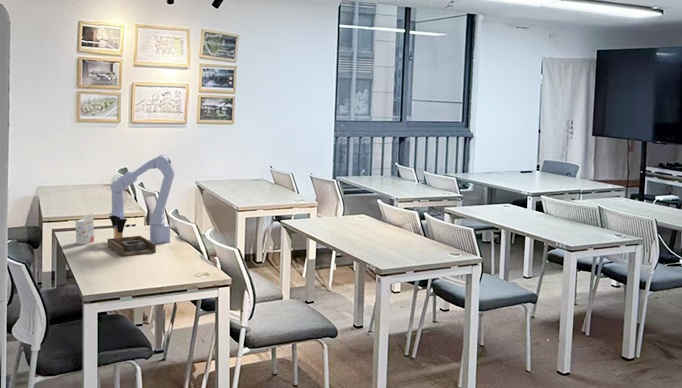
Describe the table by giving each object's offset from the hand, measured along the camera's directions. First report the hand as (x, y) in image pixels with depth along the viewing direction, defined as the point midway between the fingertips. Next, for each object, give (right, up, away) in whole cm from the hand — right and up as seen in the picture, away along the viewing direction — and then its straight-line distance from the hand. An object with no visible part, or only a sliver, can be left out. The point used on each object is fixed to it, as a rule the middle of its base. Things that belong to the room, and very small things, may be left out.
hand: (118, 231), depth 346 cm
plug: (0, -5, +1) cm, 6 cm away
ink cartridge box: (-15, -6, -4) cm, 17 cm away
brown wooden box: (+11, -8, -15) cm, 21 cm away
